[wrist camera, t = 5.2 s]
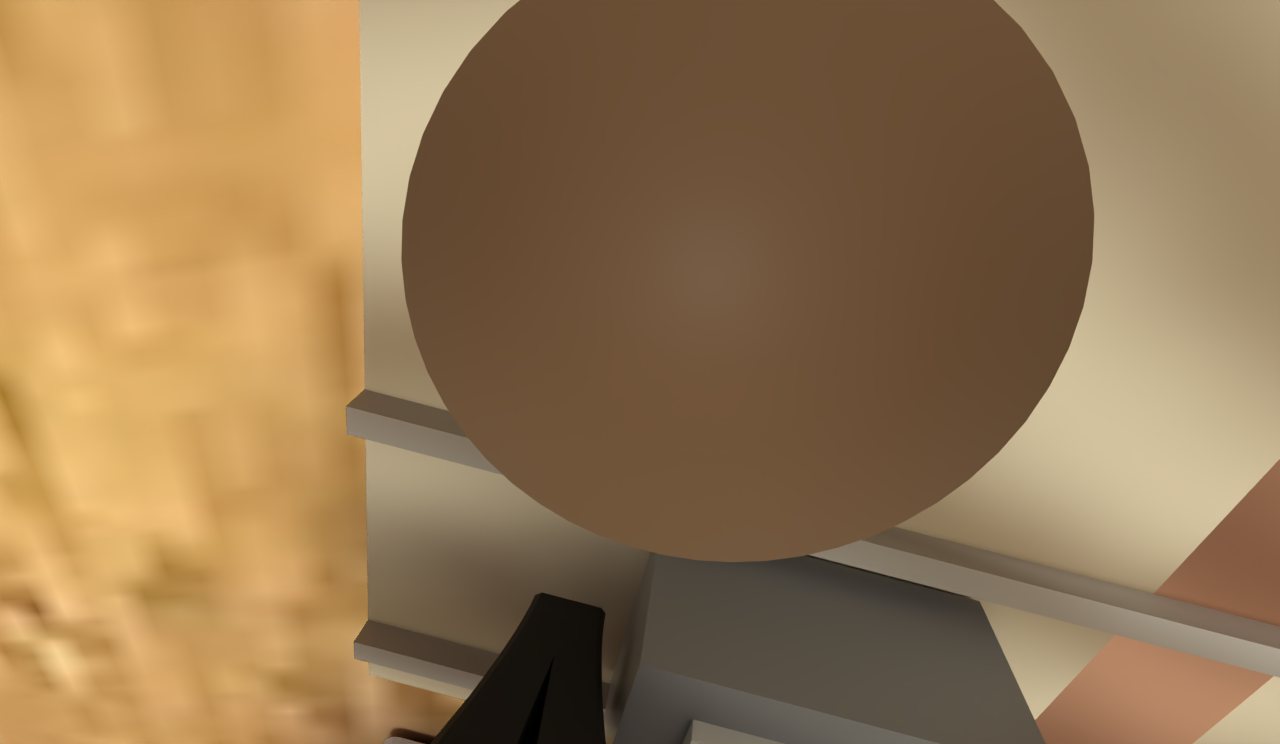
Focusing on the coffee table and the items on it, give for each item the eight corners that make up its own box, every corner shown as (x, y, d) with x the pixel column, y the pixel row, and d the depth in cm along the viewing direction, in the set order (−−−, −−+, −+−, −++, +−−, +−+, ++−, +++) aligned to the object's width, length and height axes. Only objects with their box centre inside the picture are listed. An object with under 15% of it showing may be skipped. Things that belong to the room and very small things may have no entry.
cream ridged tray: (1283, 878, 15) (1339, 960, 14) (389, 640, 16) (355, 697, 14) (2462, 170, 7) (2931, 199, 5) (401, -325, 7) (318, -423, 6)
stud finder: (870, 750, 13) (913, 960, 10) (610, 681, 13) (574, 867, 10) (980, 601, 11) (1079, 816, 8) (661, 517, 11) (634, 697, 8)
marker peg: (800, 274, 9) (929, 620, 3) (586, 233, 9) (395, 513, 4) (878, 25, 7) (1335, -33, 2) (616, -24, 7) (353, -207, 2)
